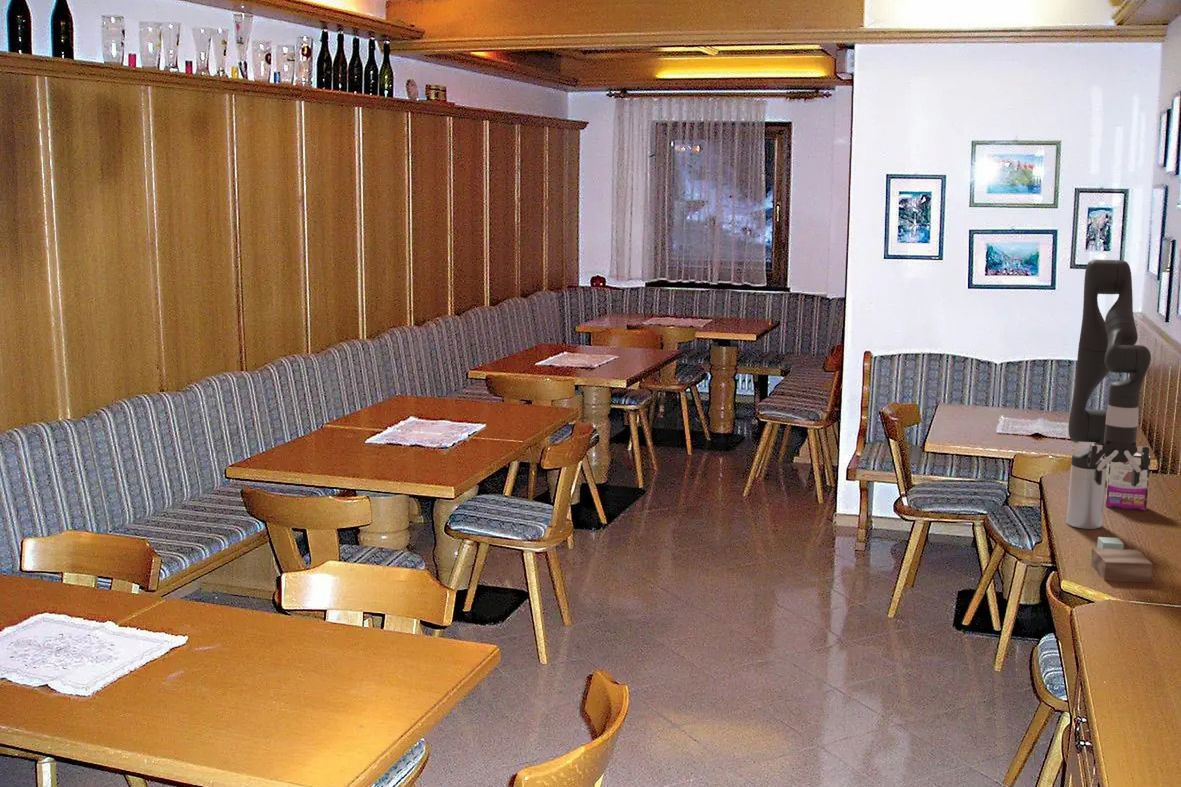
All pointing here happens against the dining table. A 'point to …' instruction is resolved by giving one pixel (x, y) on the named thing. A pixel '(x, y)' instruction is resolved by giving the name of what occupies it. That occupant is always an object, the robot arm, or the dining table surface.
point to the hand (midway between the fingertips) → (1115, 484)
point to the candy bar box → (1126, 486)
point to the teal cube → (1109, 543)
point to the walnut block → (1121, 565)
